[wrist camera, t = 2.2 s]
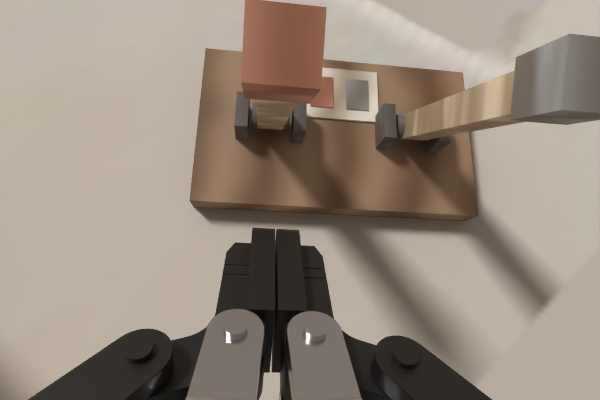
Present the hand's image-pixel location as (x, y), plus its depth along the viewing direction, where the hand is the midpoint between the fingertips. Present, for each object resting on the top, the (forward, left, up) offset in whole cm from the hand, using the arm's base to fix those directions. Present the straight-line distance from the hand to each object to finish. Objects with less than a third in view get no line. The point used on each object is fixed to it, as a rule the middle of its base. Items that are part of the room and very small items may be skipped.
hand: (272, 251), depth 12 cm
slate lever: (+12, +13, -16) cm, 24 cm away
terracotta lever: (0, +13, -16) cm, 20 cm away
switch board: (+6, +13, -19) cm, 24 cm away
